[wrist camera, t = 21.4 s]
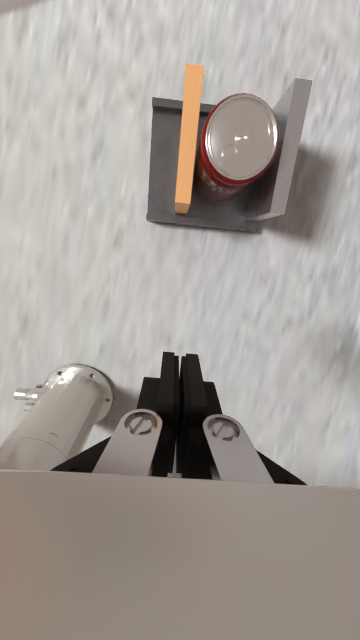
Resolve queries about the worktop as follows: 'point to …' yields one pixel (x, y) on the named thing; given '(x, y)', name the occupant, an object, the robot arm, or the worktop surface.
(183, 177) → the sliding jaw
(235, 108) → the soda can
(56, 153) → the worktop surface
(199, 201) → the clamp bed
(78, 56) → the worktop surface
